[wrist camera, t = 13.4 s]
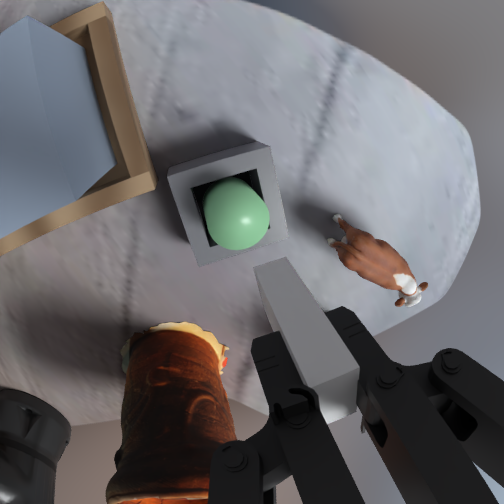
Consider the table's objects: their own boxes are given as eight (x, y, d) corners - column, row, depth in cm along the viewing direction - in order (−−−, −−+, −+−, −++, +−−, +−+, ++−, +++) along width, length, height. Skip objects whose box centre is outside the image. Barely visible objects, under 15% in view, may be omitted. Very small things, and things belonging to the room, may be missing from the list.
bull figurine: (377, 283, 36) (413, 321, 29) (307, 232, 30) (344, 271, 23) (398, 257, 35) (438, 291, 28) (332, 198, 29) (378, 229, 22)
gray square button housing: (195, 246, 28) (198, 267, 25) (169, 167, 24) (166, 176, 21) (275, 221, 29) (289, 238, 26) (257, 141, 25) (270, 146, 22)
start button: (211, 234, 26) (217, 257, 22) (195, 186, 23) (199, 202, 20) (260, 218, 26) (274, 239, 22) (248, 170, 24) (262, 183, 20)
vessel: (227, 395, 39) (256, 523, 22) (128, 394, 36) (124, 525, 18) (240, 319, 34) (290, 486, 16) (114, 315, 30) (84, 487, 12)
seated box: (51, 192, 22) (-11, 245, 12) (18, 84, 16) (-59, 84, 7) (117, 163, 22) (76, 200, 13) (84, 48, 17) (27, 15, 8)
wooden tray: (-20, 260, 23) (-34, 274, 20) (-66, 131, 15) (-83, 136, 12) (158, 179, 25) (155, 189, 22) (111, 12, 17) (102, 1, 14)
